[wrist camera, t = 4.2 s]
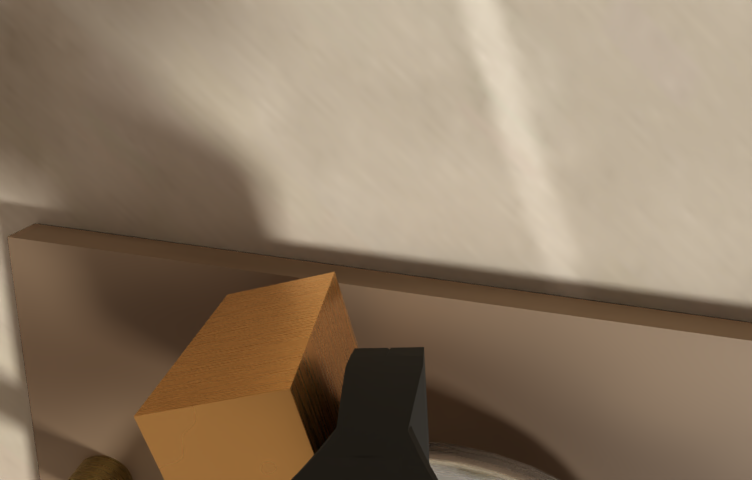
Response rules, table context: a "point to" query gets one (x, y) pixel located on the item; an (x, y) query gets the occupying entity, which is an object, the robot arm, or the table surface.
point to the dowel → (101, 469)
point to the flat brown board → (389, 330)
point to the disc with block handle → (273, 392)
